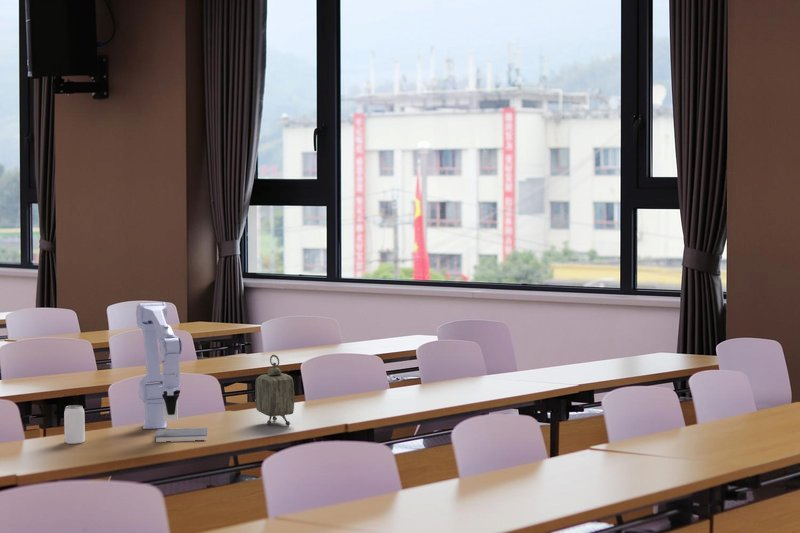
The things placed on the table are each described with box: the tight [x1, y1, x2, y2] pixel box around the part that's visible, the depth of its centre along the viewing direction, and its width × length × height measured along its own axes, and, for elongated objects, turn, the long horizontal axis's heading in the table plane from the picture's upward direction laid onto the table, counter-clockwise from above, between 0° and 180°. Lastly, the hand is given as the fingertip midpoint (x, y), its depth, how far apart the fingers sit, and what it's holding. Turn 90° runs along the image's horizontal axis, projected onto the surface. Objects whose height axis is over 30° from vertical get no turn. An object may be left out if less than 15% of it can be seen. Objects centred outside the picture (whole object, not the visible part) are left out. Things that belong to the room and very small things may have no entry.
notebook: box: [154, 427, 208, 443], centre depth 398 cm, size 12×17×2 cm
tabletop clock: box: [254, 354, 295, 427], centre depth 420 cm, size 14×9×25 cm, turn 32°
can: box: [63, 404, 86, 445], centre depth 390 cm, size 6×6×12 cm
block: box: [163, 399, 179, 421], centre depth 397 cm, size 4×4×6 cm
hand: (171, 413), depth 397 cm, fingers closed on block, 4 cm apart
